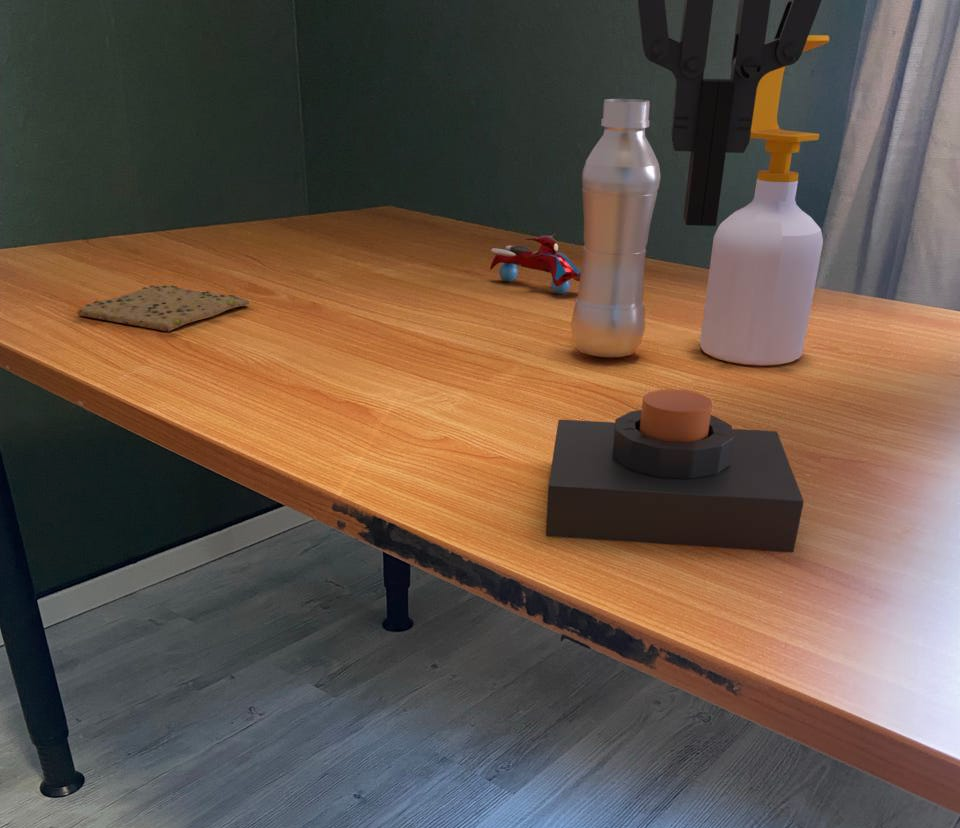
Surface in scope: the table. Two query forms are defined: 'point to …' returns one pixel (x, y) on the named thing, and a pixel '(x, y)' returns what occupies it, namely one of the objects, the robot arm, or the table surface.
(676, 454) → the button base
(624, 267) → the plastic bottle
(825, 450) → the table surface
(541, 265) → the hoverbike
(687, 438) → the button
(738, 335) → the soap bottle
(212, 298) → the tan flat square slab
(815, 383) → the table surface
